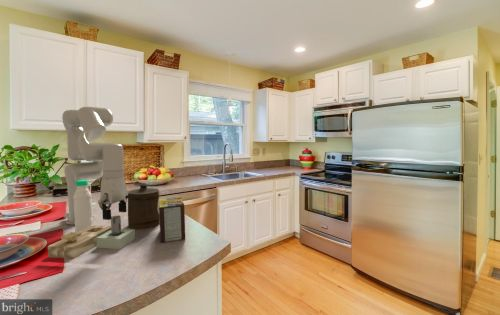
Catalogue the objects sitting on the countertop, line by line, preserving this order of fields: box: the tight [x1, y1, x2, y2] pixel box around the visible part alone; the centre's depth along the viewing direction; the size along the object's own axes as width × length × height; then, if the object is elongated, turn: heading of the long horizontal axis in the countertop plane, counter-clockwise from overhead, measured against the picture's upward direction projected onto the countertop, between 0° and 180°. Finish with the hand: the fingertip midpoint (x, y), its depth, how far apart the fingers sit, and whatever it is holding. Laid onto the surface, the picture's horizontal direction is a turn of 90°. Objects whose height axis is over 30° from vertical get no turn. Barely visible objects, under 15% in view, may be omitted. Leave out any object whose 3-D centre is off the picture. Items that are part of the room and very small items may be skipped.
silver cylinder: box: [110, 215, 122, 236], centre depth 101 cm, size 4×4×11 cm
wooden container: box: [127, 182, 160, 231], centre depth 124 cm, size 15×15×22 cm
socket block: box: [47, 225, 111, 259], centre depth 100 cm, size 10×22×5 cm, turn 173°
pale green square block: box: [96, 228, 136, 250], centre depth 101 cm, size 10×10×5 cm
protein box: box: [159, 197, 186, 244], centre depth 112 cm, size 10×15×16 cm
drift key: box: [60, 231, 81, 243], centre depth 94 cm, size 4×4×5 cm
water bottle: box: [73, 180, 94, 233], centre depth 114 cm, size 7×7×25 cm
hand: (115, 215), depth 101 cm, fingers open, 9 cm apart
